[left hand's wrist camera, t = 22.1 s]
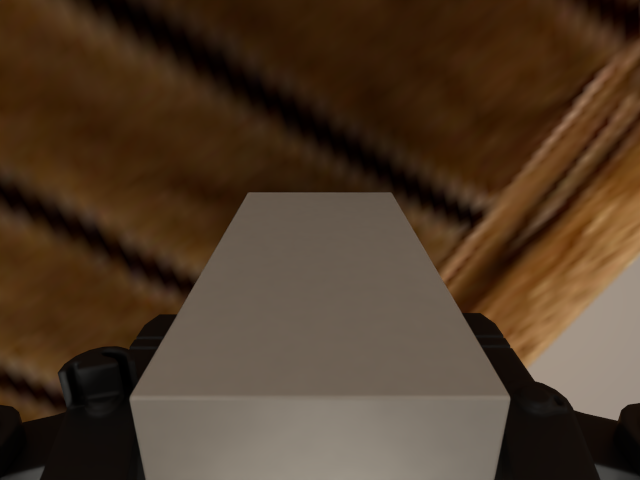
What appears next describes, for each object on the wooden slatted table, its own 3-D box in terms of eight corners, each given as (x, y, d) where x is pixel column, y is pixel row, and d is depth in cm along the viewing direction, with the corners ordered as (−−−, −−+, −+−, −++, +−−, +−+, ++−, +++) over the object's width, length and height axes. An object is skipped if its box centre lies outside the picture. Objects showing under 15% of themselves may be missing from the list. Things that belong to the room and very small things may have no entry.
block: (383, 324, 17) (463, 642, 8) (255, 324, 17) (176, 642, 8) (391, 192, 15) (512, 397, 6) (247, 192, 15) (126, 397, 6)
